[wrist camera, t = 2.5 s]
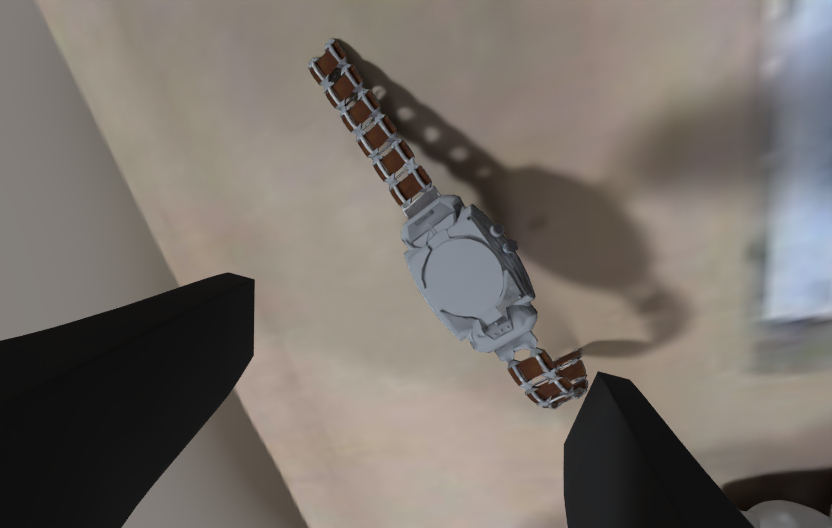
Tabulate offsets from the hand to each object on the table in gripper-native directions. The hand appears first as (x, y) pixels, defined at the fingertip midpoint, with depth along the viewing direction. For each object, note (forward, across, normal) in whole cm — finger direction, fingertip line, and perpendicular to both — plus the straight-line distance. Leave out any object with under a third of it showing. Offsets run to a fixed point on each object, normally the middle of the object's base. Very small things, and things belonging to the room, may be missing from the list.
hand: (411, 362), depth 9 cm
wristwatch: (+8, 0, 0) cm, 9 cm away
